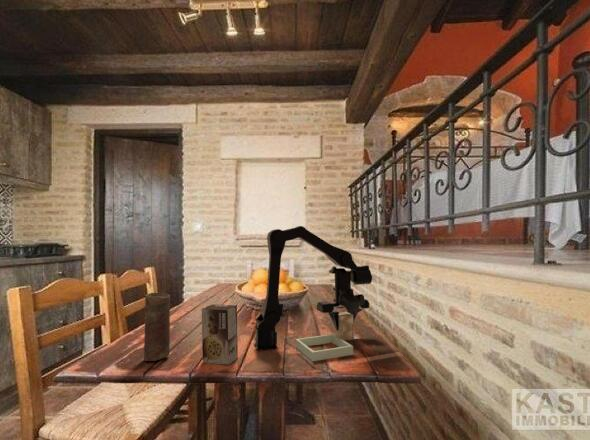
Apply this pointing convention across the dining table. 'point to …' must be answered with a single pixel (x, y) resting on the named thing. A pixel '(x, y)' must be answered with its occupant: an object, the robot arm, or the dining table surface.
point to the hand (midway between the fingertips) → (343, 329)
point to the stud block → (350, 338)
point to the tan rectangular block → (345, 326)
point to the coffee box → (219, 334)
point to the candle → (157, 326)
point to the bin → (342, 350)
